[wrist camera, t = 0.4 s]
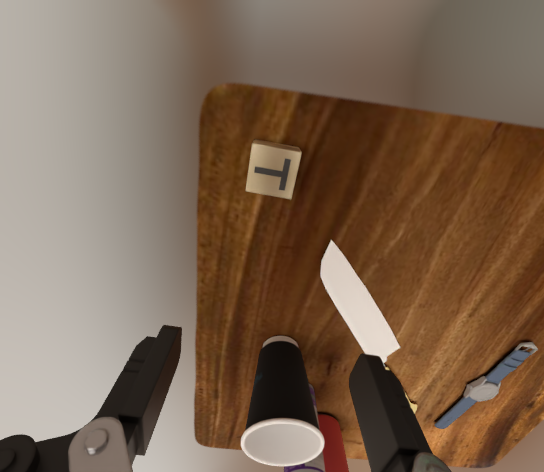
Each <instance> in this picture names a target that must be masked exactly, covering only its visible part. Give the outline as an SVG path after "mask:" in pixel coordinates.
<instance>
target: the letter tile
mask: <svg viewBox="0 0 544 472" xmlns="http://www.w3.org/2000/svg"><path fill="white" fill-rule="evenodd" d="M301 155H302V152H301V150H300V149H299V147H294V146H289V145H284V144H279V143H274V142H268V141H263V140H258V139H254V141H253V143H252V148H251V155H250V162H249V169H248V176H247V183H246V191H247V192H253V193H258V194H264V195H269V196H275V197H281V198H286V199H292V194H293V190H294V186H295V181H296V177H297V172H298V168H299V163H300V159H301Z"/></svg>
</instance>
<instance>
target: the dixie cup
mask: <svg viewBox="0 0 544 472" xmlns="http://www.w3.org/2000/svg"><path fill="white" fill-rule="evenodd" d="M324 444H325V441H324V437H323V435H322V433H321V432H320V430H319V426H318V422H317V417H316V413H315V409H314V405H313V400H312V396H311V392H310V387H309V383H308V379H307V375H306V370H305V366H304V362H303V357H302V353H301V351H300V349H299V347H298V344H297V343H296V341H295V340H293V339H292V338H290V337H287V336H274V337H271V338H269V339H268V340H266V341H265V342H264V344H263V347H262V349H261V351H260V354H259V359H258V365H257V370H256V375H255V381H254V386H253V392H252V397H251V402H250V408H249V413H248V419H247V424H246V429H245V432H244V433H243V435H242V438H241V447H242V449H243V451H244V452H245V454H246V455H248V456H249V457H250V458H252V459H253V460H255V461H257V462H260V463H263V464H267V465H273V466H293V465H299V464H303V463H306V462H308V461H310V460H312V459H314V458H316V457H317V456H318V455H319V454H320V453H321V452H322V450H323V448H324Z"/></svg>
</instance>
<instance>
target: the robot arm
mask: <svg viewBox="0 0 544 472" xmlns="http://www.w3.org/2000/svg"><path fill="white" fill-rule="evenodd" d="M181 335H182V328H181V327H175V326H168V325H164V326H162V328H161V330H160V332H159V334H158V336H157V338H155V337H148V336H147V337H146V338H145V339H144V340H142V341H141V342H140V343H139V344H138V345H137V346H136V347H135V349H134V351H133V353H132V354H131V356H130V358H129V361H127V363H126V365H125V367H124V369H123V371H122V372H121V374H120V375H119V377H118V379H117V381H116V382H115V384H114V386H113V388H112V390H111V392H110V393H109V395H108V397H107V398H106V400H105V402H104V404H103V405H102V407H101V409H100V411H99V412H98V414H97V415H96V416H95V417H94V419H92V420H91V422H89V423H88V424H87V425H85V426H84V427H83V428H81V429H80V430H78V431H76V432H74V433H71V434H68V435H65V436H61V437H57V438H52V439H48V440H44V441H39V442H35V441H34V440H33V438H31V437H30V436H27V435H14V436H10V437H7V438H4V439H2V440H0V472H133V470H132V464H133V461H134V458H135V456H136V455H145V453H146V450H147V447H148V445H149V442H150V439H151V436H152V434H153V431H154V428H155V426H156V423H157V420H158V417H159V415H160V412H161V409H162V407H163V404H164V401H165V398H166V395H167V393H168V390H169V387H170V384H171V382H172V379H173V376H174V374H175V371H176V368H177V365H178V362H179V358H180V353H181ZM349 388H350V392H351V396H352V400H353V404H354V408H355V411H356V415H357V419H358V423H359V426H360V430H361V434H362V438H363V441H364V445H365V449H366V453H367V457H368V460H369V464H370V468H371V472H451V470H450V469H449V468H448V467H447V465H446V464H445V463H444V462H443V461H442V460H440V459H439V458H438V457H436V456H435V455H433V453H432V451H431V449H430V447H429V445H428V443H427V441H426V438H425V436H424V434H423V432H422V430H421V427H420V425H419V423H418V421H417V419H416V416H415V414H414V412H413V410H412V408H411V407H410V406H411V405H410V403H409V401H408V399H407V397H406V394H405V392H404V390H403V388H402V385H401V383H400V381H399V380H398V379H397V378H396V377H395V375H394V374H393V373H392V372H391V370H386V369H385V366H384V364H383V362H382V359H381V358H380V357H379V356H376V355H369V354H360V356H359V358H358V360H357V362H356V364H355V366H354V368H353V370H352V372H351V374H350V377H349Z"/></svg>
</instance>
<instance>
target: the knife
mask: <svg viewBox="0 0 544 472" xmlns="http://www.w3.org/2000/svg"><path fill="white" fill-rule="evenodd" d="M320 276H321V279H322V281H323V283H324V286H325V288H326V290H327V292H328V294H329V295H330V297H331V299H332V301H333V302H334V304H335V306H336V307H337V309H338V311H339V312H340V314H341V315H342V317H343V319H344V320H345V322H346V323H347V325H348V327H349V328H350V330H351V331H352V333H353V335H354V336H355V338H356V339H357V341H358V343H359V344H360V346H361V347H362V349H363V351H364V352H365V354H369V355H376V356H379V357H380V358H381V359H382V362H383V364H384V363H385V362H386V361H387V356H388V355H390V354H391V353H393V352H394V351H396V350H397V349H399V348H400V345H399V344H398V342H397V340H396V338H395V336H394V334H393V332H392V330H391V328H390V327H389V325H388V323H387V322H386V320H385V318H384V317H383V315H382V313H381V312H380V310H379V308H378V307H377V305H376V303H375V302H374V300H373V298H372V297H371V295H370V293H369V292H368V290H367V288H366V287H365V286H364V284H363V283H362V281H361V280H360V279H359V277H358V276H357V274H356V273H355V271H354V270H353V268H352V267H351V265H350V263H349V262H348V261H347V259H346V258H345V256H344V255H343V254H342V252H341V251H340V250H339V248H338V247H337V246H336V245H335V243H334V242H333V241H332V240H331V241H330V244H329V246H328V248H327V250H326V252H325V254H324V256H323V258H322V260H321V272H320ZM384 366H385V365H384ZM385 369H386V370H389V368H388V367H385ZM404 392H405V391H404ZM405 394H406V393H405ZM406 397H407V395H406ZM407 399H408V397H407ZM408 401H409V399H408ZM409 403H410V405H411V406H410V407H411V408H412V410H413V412H414V414H415V412H416V409H417V405H416V404H412V403H411V402H410V401H409Z"/></svg>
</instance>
